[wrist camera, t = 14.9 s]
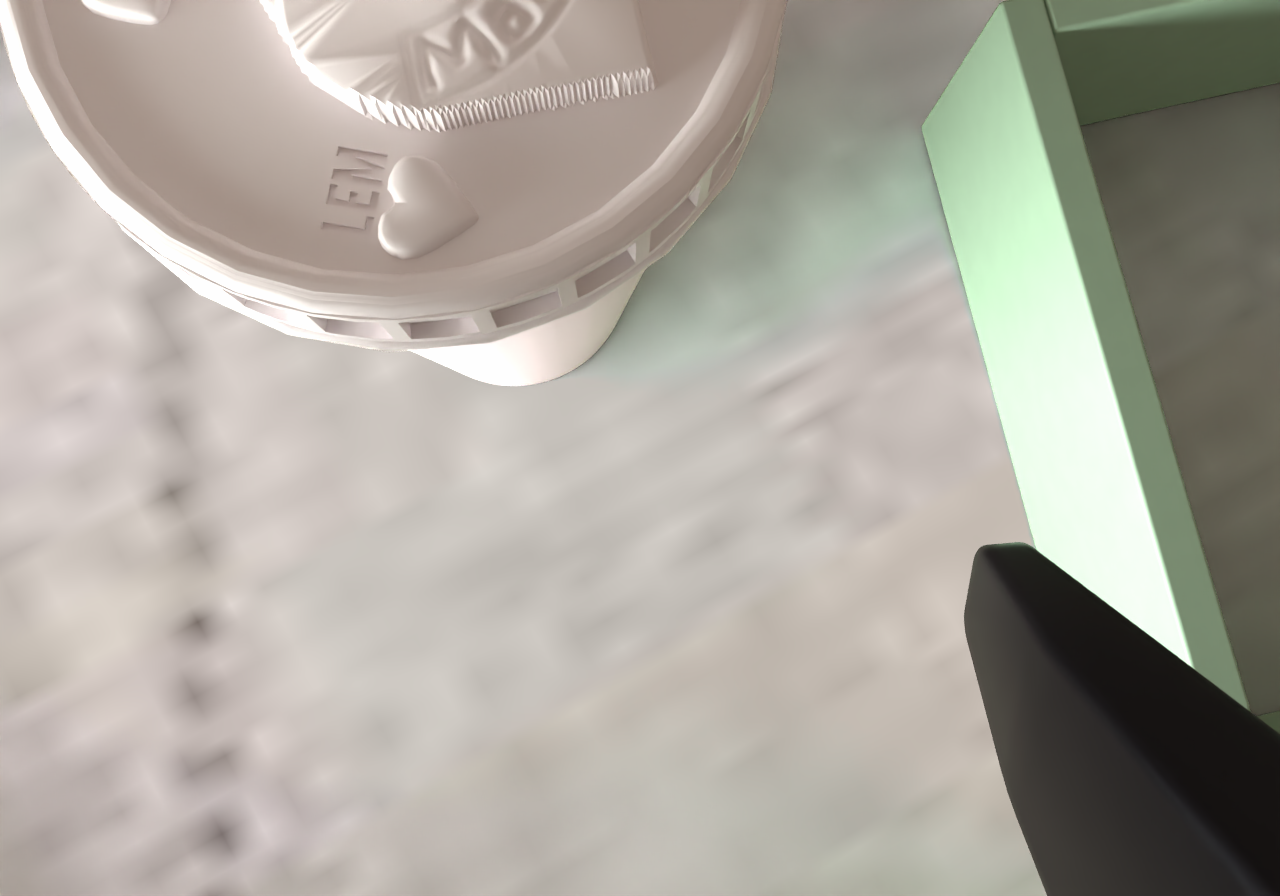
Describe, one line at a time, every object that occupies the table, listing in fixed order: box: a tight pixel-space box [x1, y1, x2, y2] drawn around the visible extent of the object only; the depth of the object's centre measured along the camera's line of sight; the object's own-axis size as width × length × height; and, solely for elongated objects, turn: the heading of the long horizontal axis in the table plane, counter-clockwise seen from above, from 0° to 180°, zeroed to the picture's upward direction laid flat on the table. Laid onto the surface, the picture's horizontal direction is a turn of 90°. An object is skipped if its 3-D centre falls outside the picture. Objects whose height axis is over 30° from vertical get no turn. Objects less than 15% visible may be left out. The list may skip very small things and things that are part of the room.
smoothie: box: [0, 0, 788, 386], centre depth 11 cm, size 6×6×14 cm
